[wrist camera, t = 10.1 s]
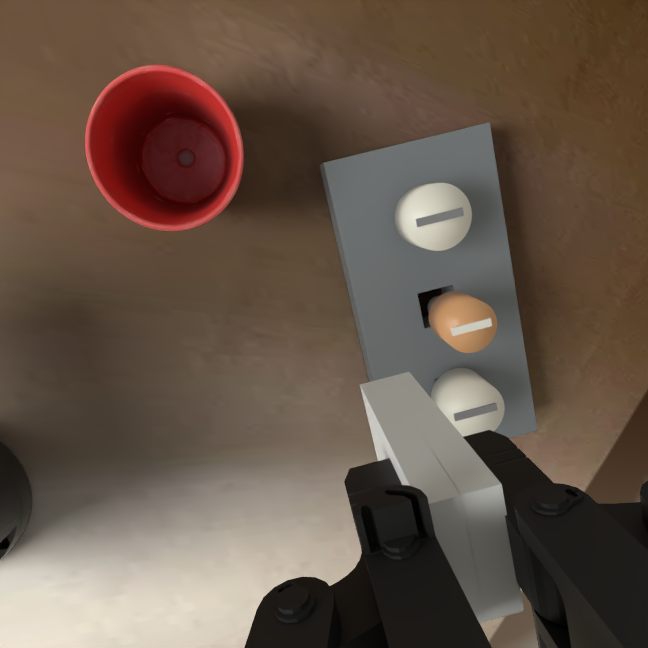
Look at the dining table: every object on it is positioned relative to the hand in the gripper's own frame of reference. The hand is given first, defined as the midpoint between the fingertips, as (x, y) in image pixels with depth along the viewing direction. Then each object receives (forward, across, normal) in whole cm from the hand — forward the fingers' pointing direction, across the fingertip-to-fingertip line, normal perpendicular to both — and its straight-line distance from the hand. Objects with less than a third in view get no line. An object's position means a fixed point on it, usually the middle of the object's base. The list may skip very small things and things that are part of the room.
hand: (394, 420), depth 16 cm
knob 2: (+33, +10, -13) cm, 37 cm away
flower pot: (+35, -8, +12) cm, 37 cm away
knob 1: (+33, +10, +3) cm, 35 cm away
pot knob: (+30, +10, -5) cm, 32 cm away
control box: (+34, +10, -5) cm, 36 cm away
